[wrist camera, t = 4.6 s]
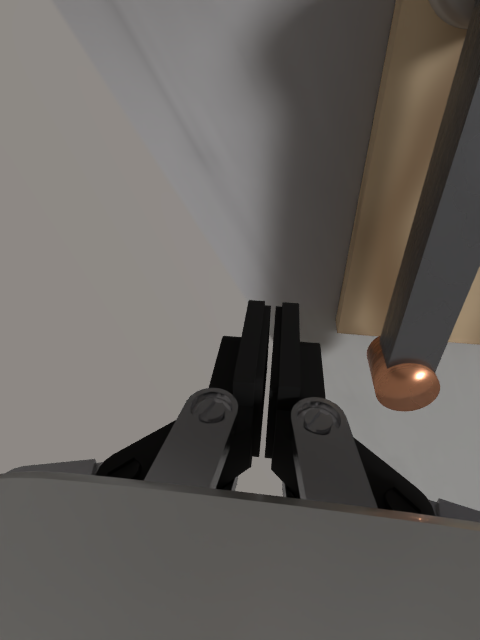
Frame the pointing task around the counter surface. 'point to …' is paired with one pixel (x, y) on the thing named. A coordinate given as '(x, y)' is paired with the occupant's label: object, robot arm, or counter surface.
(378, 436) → the counter surface
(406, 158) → the base
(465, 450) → the counter surface
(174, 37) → the counter surface
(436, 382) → the lever
